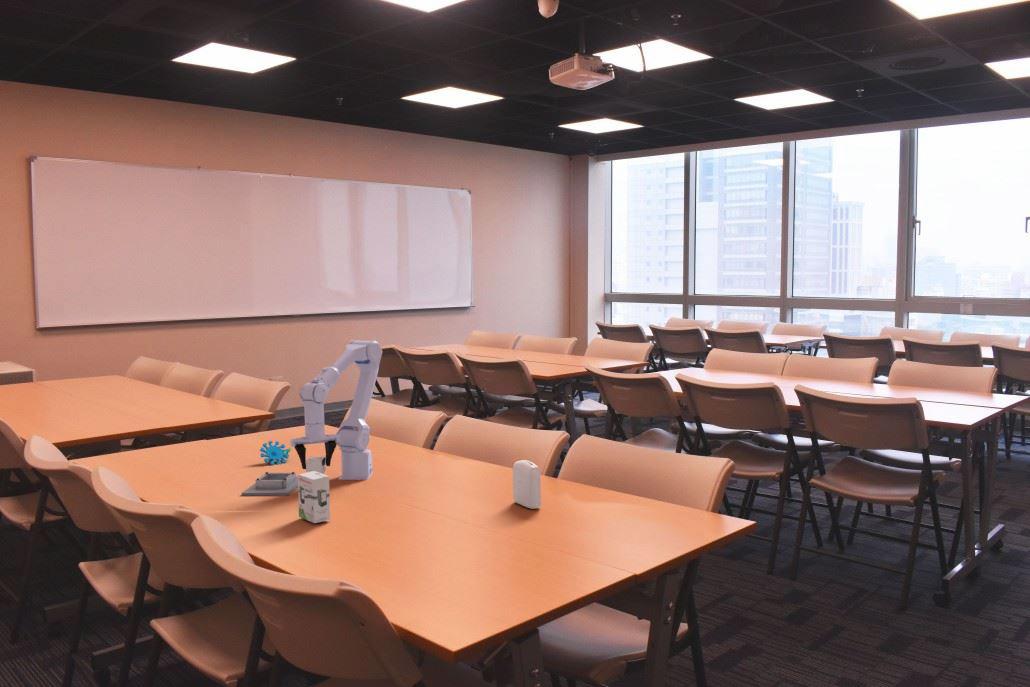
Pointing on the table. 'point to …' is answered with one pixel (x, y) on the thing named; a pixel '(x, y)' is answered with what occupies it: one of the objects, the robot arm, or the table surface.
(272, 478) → the tray
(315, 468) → the small brown box
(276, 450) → the blue spiky round piece
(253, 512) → the table surface
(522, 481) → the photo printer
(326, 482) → the ink box
